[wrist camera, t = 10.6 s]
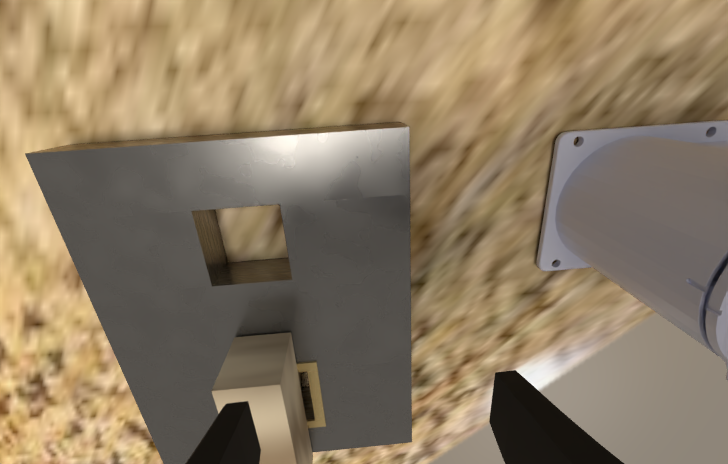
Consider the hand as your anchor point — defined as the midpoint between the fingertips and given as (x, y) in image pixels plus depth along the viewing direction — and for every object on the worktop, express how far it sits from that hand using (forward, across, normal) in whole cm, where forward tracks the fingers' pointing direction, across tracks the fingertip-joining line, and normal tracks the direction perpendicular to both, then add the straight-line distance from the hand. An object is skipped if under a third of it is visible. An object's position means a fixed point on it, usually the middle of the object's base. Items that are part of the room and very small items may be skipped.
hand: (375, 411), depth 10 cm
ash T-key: (+10, +5, +8) cm, 14 cm away
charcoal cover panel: (+10, +5, +3) cm, 12 cm away
